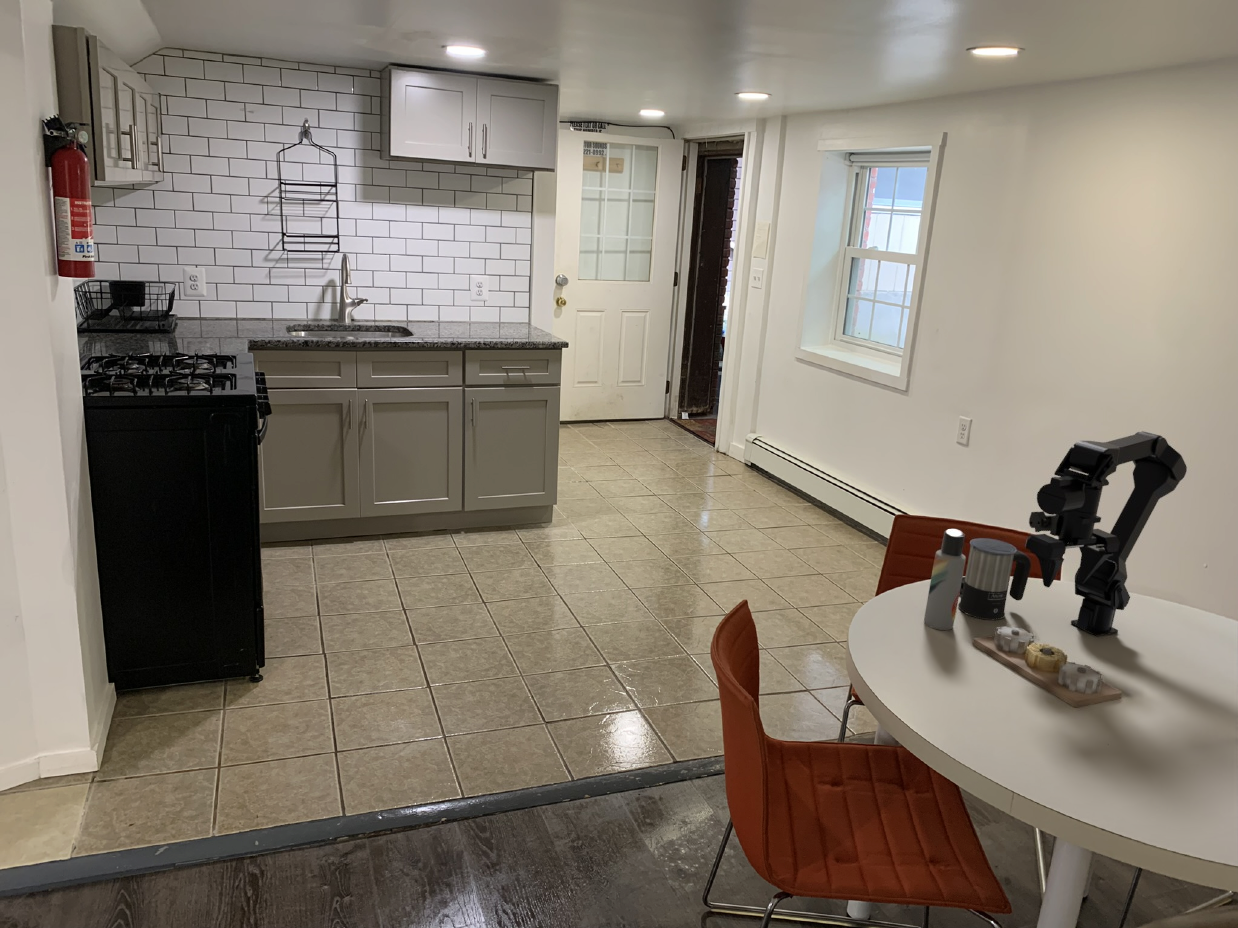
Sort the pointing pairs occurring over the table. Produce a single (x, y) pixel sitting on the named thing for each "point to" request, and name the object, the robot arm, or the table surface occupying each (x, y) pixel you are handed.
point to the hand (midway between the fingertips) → (1063, 584)
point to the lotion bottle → (946, 581)
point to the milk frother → (992, 578)
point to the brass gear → (1045, 658)
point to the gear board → (1069, 684)
